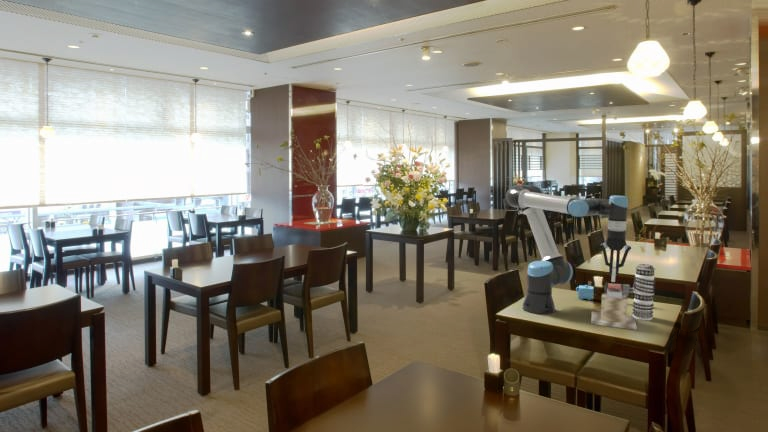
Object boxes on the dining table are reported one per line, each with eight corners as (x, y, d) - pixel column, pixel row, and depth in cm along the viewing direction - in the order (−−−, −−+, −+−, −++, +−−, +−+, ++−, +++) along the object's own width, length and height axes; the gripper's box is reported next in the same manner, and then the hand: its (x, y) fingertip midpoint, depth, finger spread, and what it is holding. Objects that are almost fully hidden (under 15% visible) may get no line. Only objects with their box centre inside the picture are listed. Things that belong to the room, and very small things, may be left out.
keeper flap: (608, 288, 225) (608, 285, 225) (608, 285, 232) (608, 282, 232) (620, 289, 223) (621, 286, 223) (619, 286, 230) (620, 284, 230)
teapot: (599, 299, 266) (600, 285, 265) (599, 301, 260) (600, 287, 259) (575, 296, 270) (576, 283, 270) (575, 299, 265) (575, 285, 264)
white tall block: (606, 317, 224) (607, 291, 223) (605, 313, 230) (607, 288, 229) (620, 319, 222) (622, 292, 221) (620, 315, 227) (621, 289, 226)
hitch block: (591, 324, 222) (593, 288, 221) (591, 314, 237) (593, 281, 235) (636, 329, 215) (638, 292, 214) (633, 319, 230) (635, 284, 228)
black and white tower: (626, 315, 236) (629, 263, 233) (641, 313, 239) (644, 262, 237) (643, 321, 227) (646, 267, 225) (658, 319, 231) (661, 266, 228)
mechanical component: (636, 305, 254) (637, 286, 253) (615, 303, 256) (616, 284, 255) (635, 303, 257) (636, 284, 256) (613, 302, 259) (614, 283, 258)
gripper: (600, 229, 223) (597, 281, 226) (633, 232, 218) (629, 284, 221) (601, 228, 230) (597, 278, 233) (632, 230, 225) (628, 281, 228)
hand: (613, 281), depth 227 cm, fingers closed
